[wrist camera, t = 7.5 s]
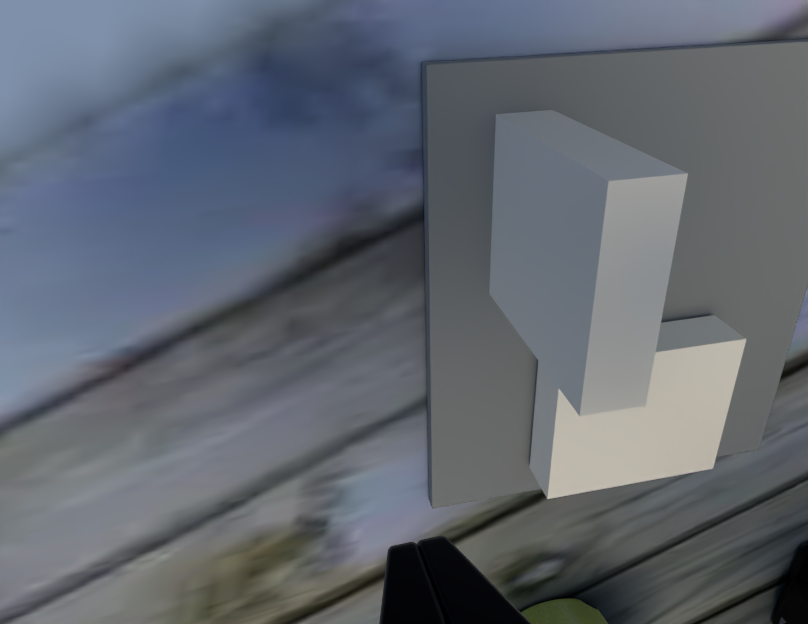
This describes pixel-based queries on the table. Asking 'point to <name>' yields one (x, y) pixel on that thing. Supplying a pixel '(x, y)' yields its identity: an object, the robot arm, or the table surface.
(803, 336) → the table surface
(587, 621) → the plant pot
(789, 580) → the robot arm
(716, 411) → the tile
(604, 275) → the tile
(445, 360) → the slate mat
